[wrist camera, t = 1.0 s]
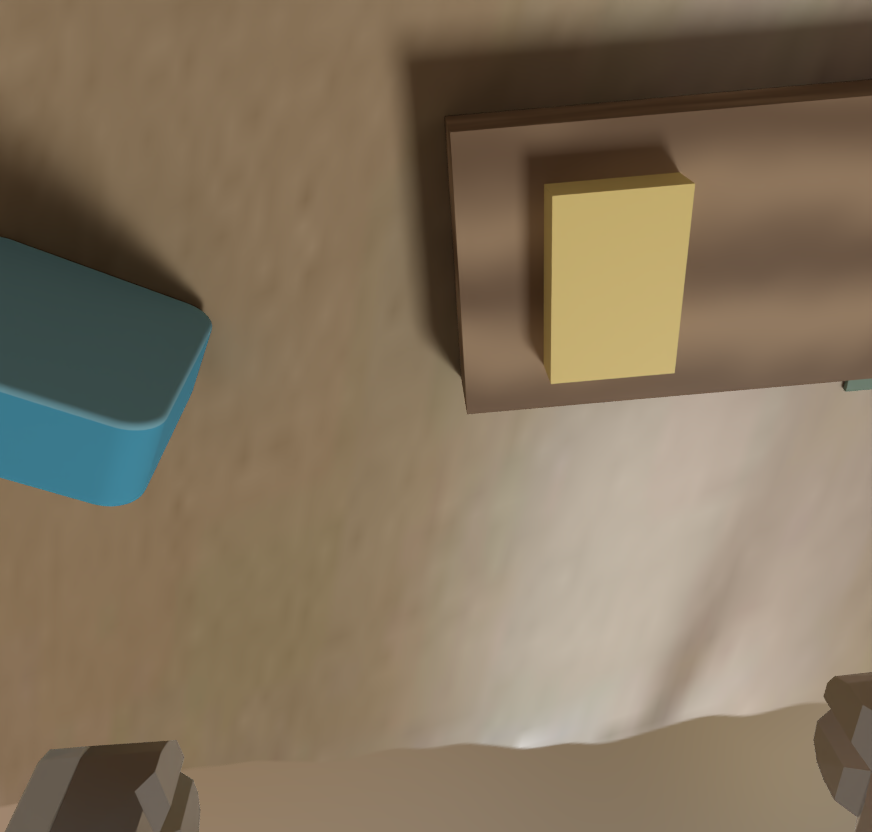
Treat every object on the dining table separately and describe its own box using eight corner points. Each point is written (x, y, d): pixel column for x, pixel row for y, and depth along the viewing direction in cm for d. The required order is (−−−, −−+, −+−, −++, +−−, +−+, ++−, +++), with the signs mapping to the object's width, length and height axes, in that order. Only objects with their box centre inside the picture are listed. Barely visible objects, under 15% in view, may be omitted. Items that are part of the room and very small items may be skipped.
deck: (444, 116, 35) (449, 132, 31) (910, 75, 35) (966, 87, 31) (461, 377, 42) (467, 414, 38) (845, 344, 42) (885, 377, 38)
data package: (-32, 304, 38) (-188, 427, 28) (-22, 225, 36) (-185, 327, 26) (197, 381, 41) (132, 518, 31) (219, 312, 39) (157, 434, 29)
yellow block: (544, 184, 32) (552, 196, 31) (679, 172, 32) (695, 183, 31) (543, 365, 37) (550, 384, 35) (661, 354, 37) (674, 373, 35)
